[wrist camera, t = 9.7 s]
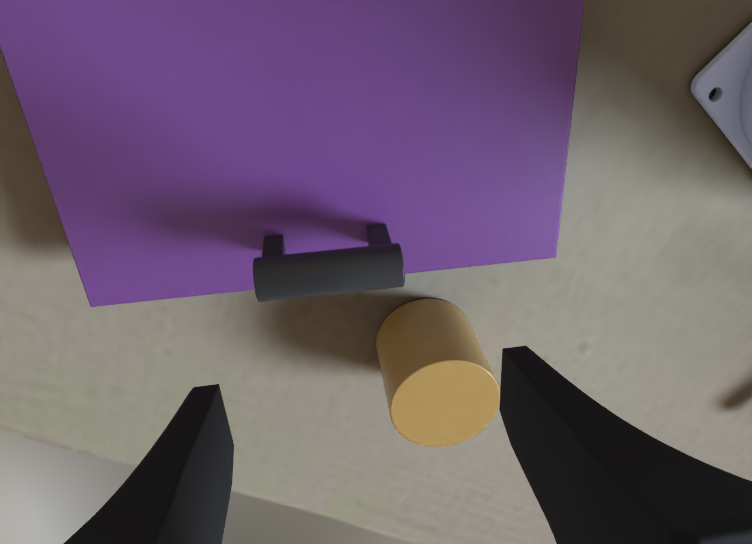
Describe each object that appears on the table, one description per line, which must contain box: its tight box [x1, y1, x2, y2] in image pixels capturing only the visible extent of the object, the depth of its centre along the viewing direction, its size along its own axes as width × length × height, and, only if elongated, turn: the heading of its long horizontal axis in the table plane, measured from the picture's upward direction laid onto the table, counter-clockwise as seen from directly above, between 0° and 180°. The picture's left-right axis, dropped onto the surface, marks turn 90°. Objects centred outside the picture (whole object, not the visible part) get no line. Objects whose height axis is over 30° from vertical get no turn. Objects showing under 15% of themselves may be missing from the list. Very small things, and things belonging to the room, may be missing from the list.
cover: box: [0, 0, 584, 307], centre depth 18 cm, size 10×17×4 cm, turn 94°
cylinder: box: [376, 299, 500, 447], centre depth 25 cm, size 4×4×4 cm
